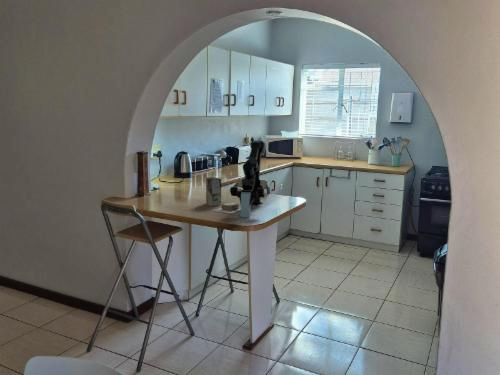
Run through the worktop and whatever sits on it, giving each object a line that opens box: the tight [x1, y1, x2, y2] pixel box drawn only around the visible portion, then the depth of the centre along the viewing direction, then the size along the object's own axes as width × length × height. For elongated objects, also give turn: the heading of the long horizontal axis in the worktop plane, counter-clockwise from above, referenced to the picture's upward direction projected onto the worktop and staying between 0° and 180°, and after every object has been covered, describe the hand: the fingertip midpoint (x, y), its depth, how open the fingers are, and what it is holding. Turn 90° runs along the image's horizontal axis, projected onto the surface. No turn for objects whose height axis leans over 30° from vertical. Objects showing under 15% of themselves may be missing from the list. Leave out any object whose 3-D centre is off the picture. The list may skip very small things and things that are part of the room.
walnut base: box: [213, 202, 241, 215], centre depth 260 cm, size 16×12×4 cm
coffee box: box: [205, 176, 222, 207], centre depth 273 cm, size 9×6×16 cm
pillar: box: [240, 192, 252, 218], centre depth 245 cm, size 4×4×13 cm
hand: (245, 205), depth 243 cm, fingers closed on pillar, 4 cm apart
